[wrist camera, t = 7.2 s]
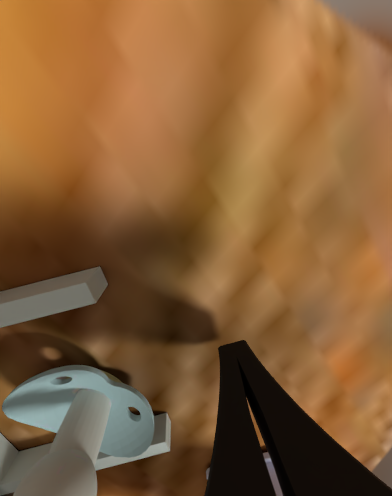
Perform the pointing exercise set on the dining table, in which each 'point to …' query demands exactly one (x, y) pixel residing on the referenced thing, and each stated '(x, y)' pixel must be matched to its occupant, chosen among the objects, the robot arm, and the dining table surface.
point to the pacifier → (78, 426)
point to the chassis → (43, 304)
